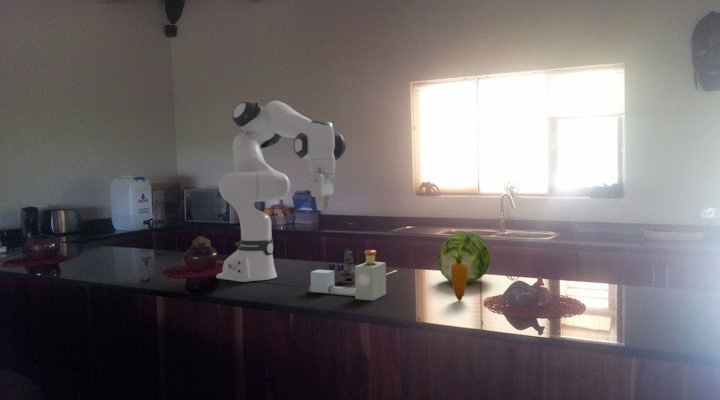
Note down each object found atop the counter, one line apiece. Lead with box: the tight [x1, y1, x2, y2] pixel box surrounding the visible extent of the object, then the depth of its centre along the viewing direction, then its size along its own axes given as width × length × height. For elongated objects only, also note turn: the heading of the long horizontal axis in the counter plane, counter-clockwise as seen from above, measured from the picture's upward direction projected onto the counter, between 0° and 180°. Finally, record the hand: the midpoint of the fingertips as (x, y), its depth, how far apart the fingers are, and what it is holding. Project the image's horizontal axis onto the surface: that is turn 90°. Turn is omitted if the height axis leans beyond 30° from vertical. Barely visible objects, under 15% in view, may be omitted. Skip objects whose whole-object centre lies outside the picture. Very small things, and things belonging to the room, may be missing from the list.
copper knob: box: [364, 249, 377, 266], centre depth 184 cm, size 4×4×6 cm
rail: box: [308, 284, 355, 297], centre depth 190 cm, size 18×2×2 cm, turn 65°
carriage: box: [310, 269, 336, 294], centre depth 192 cm, size 6×5×6 cm
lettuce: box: [437, 231, 491, 285], centre depth 203 cm, size 17×23×17 cm
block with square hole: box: [354, 261, 387, 301], centre depth 184 cm, size 6×10×10 cm, turn 155°
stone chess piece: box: [339, 247, 355, 284], centre depth 209 cm, size 6×6×12 cm
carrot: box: [451, 250, 467, 302], centre depth 177 cm, size 5×5×15 cm
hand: (323, 209), depth 202 cm, fingers open, 8 cm apart
